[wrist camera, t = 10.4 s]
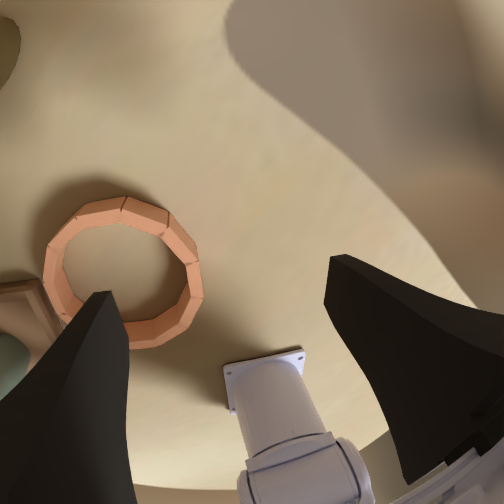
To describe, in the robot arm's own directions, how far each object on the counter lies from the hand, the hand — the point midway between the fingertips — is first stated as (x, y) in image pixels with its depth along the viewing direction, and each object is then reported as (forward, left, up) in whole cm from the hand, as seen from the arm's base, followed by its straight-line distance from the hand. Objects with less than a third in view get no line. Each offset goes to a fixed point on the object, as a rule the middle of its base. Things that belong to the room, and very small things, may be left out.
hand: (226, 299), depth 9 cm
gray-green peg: (-10, +19, -9) cm, 24 cm away
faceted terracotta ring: (-4, +6, -10) cm, 12 cm away
